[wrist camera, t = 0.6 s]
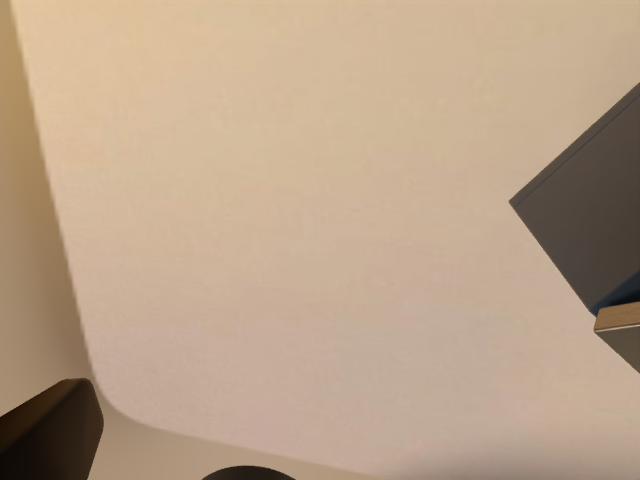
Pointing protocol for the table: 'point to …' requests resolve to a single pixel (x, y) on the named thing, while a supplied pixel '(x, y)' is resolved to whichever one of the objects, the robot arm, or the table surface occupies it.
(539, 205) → the open box
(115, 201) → the table surface
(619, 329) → the box lid
